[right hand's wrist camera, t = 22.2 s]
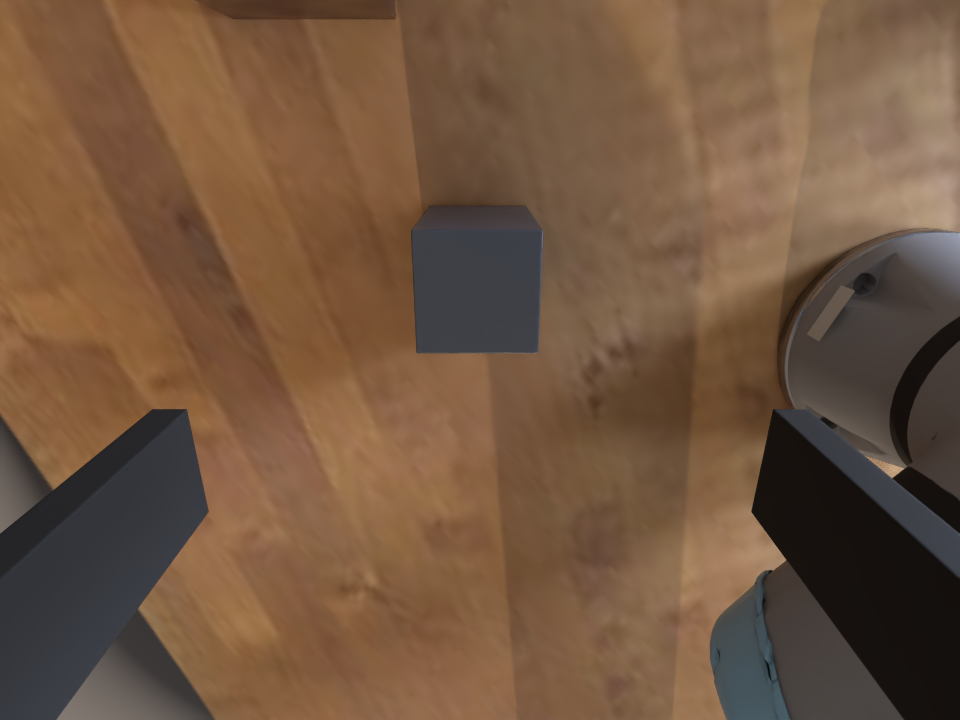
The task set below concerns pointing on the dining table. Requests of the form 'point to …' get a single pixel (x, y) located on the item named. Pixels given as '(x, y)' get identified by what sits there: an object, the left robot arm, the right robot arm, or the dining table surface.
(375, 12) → the walnut beam
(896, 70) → the dining table surface
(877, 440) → the right robot arm
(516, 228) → the grey block
